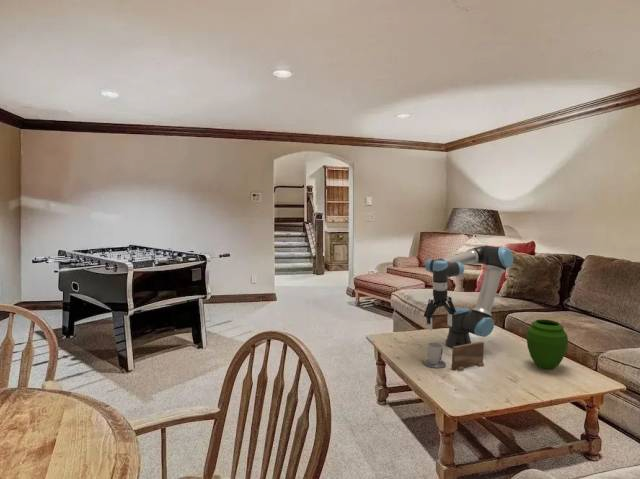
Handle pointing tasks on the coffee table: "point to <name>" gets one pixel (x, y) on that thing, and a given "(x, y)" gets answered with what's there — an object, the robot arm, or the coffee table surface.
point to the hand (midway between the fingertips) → (439, 327)
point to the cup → (435, 353)
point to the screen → (467, 356)
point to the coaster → (428, 364)
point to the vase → (546, 343)
